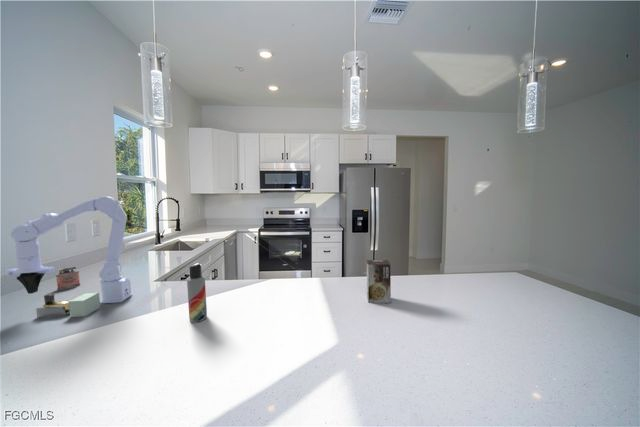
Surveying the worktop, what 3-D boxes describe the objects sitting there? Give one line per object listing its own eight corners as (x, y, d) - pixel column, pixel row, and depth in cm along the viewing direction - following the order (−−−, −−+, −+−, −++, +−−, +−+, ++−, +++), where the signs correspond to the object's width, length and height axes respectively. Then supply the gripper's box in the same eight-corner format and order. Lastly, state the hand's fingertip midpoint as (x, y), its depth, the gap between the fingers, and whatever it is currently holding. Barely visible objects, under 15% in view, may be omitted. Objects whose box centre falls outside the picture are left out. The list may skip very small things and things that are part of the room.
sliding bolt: (76, 307, 98) (74, 292, 97) (69, 311, 95) (67, 295, 94) (51, 309, 97) (49, 293, 96) (42, 313, 94) (41, 297, 93)
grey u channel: (76, 309, 99) (75, 300, 99) (64, 316, 94) (63, 307, 93) (51, 310, 98) (50, 302, 98) (37, 317, 93) (36, 308, 92)
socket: (100, 307, 101) (99, 292, 100) (85, 316, 93) (83, 300, 93) (86, 307, 100) (85, 293, 100) (70, 317, 93) (68, 301, 92)
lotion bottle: (200, 323, 87) (196, 267, 85) (185, 322, 88) (182, 266, 86) (210, 315, 93) (207, 262, 91) (196, 314, 94) (193, 261, 92)
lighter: (57, 290, 118) (55, 270, 117) (56, 289, 120) (54, 268, 120) (81, 285, 125) (79, 265, 124) (79, 284, 127) (77, 264, 126)
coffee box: (388, 296, 107) (388, 259, 106) (390, 303, 101) (391, 264, 99) (366, 296, 108) (366, 259, 106) (367, 302, 101) (367, 263, 100)
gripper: (60, 253, 98) (63, 287, 99) (18, 254, 96) (22, 289, 97) (42, 258, 91) (46, 294, 92) (-3, 259, 89) (1, 296, 90)
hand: (32, 292), depth 94 cm, fingers closed
